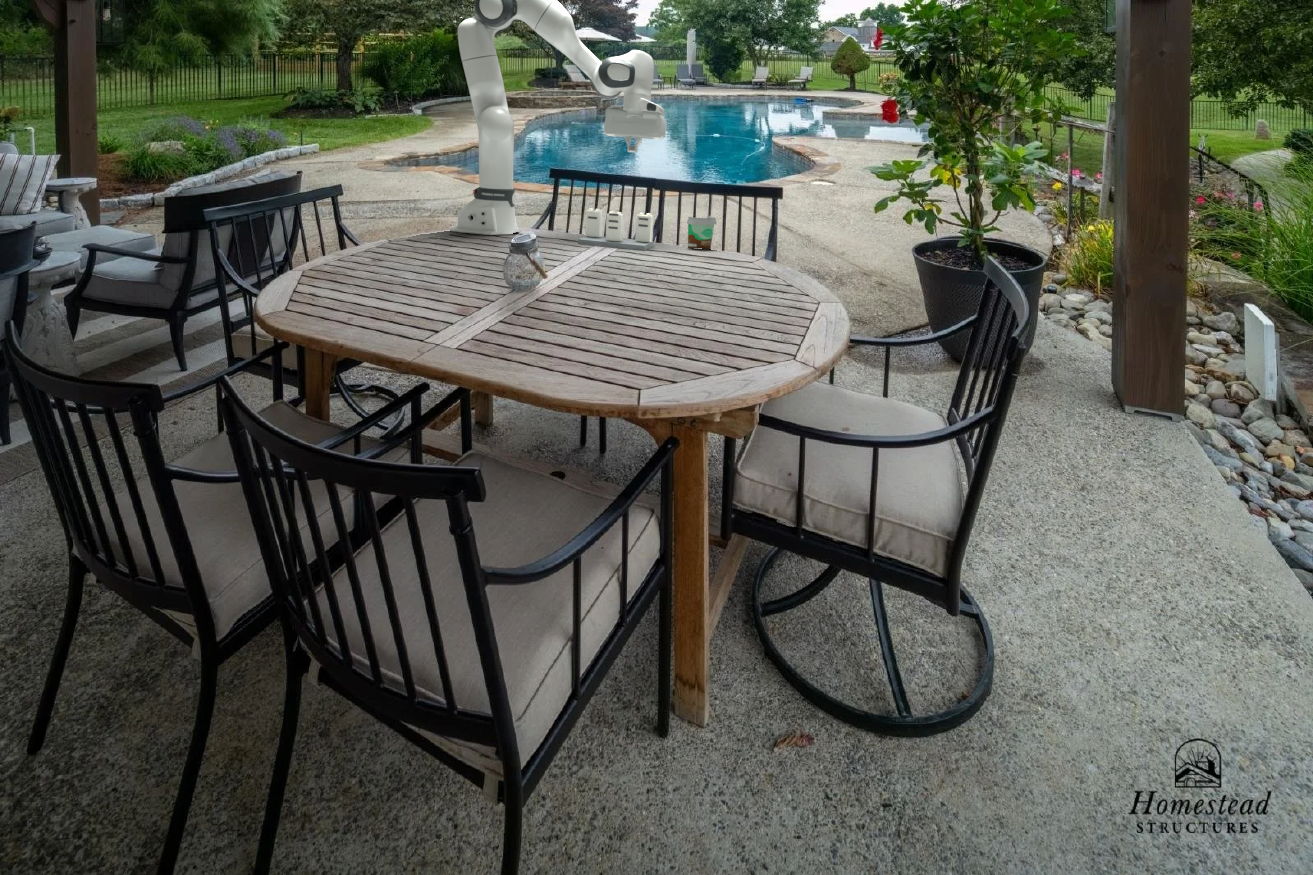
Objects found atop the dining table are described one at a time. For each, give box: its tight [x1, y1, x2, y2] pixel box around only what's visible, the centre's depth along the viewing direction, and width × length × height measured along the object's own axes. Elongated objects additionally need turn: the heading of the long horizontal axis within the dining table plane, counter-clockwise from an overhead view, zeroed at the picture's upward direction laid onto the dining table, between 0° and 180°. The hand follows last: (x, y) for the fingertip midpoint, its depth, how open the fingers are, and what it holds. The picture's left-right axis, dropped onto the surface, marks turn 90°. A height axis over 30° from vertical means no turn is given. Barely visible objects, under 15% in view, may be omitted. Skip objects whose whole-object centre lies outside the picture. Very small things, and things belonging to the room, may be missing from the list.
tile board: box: [577, 235, 655, 252], centre depth 242 cm, size 22×12×2 cm, turn 76°
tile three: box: [605, 210, 625, 241], centre depth 238 cm, size 5×3×9 cm
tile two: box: [634, 212, 655, 242], centre depth 240 cm, size 5×3×9 cm
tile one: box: [584, 207, 604, 237], centre depth 244 cm, size 5×3×9 cm
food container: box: [686, 215, 717, 250], centre depth 245 cm, size 12×6×10 cm, turn 143°
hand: (632, 152), depth 244 cm, fingers closed
